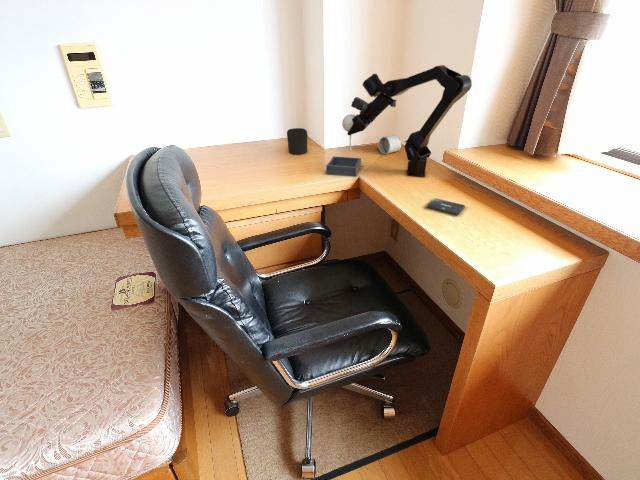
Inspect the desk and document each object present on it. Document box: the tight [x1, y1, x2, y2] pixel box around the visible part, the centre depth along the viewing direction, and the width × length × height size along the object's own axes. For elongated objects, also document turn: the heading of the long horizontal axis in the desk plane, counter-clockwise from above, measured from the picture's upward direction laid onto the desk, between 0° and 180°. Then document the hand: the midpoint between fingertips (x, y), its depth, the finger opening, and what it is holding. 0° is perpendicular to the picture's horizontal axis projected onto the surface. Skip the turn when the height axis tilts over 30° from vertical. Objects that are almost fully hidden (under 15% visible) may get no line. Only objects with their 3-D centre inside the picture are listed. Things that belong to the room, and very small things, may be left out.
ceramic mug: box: [377, 135, 402, 155], centre depth 162 cm, size 11×8×8 cm
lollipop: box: [341, 113, 356, 152], centre depth 148 cm, size 7×7×15 cm
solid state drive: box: [427, 197, 466, 216], centre depth 113 cm, size 7×10×1 cm
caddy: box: [326, 156, 362, 177], centre depth 143 cm, size 12×12×4 cm
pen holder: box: [286, 127, 308, 156], centre depth 163 cm, size 9×9×10 cm
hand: (350, 132), depth 148 cm, fingers closed on lollipop, 6 cm apart
